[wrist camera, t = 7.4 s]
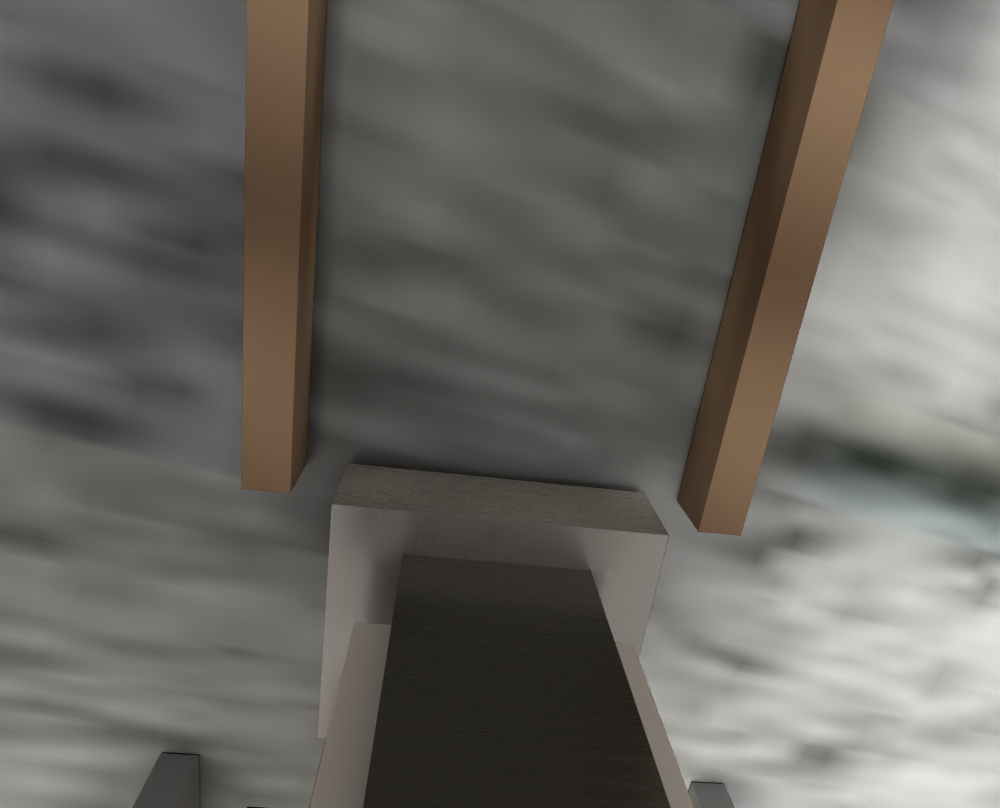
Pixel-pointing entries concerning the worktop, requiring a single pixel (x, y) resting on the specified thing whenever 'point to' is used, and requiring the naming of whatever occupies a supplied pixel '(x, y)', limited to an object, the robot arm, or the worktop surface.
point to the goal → (176, 788)
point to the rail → (752, 295)
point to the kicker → (495, 637)
